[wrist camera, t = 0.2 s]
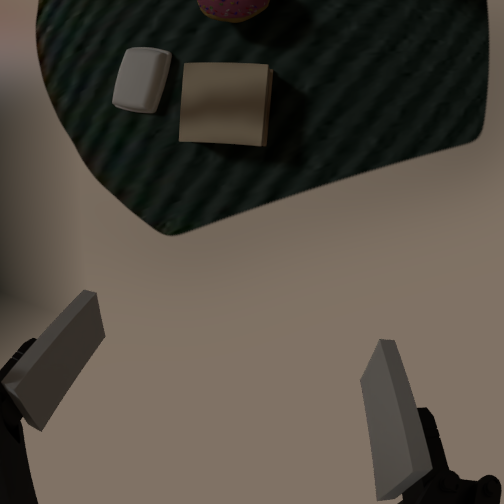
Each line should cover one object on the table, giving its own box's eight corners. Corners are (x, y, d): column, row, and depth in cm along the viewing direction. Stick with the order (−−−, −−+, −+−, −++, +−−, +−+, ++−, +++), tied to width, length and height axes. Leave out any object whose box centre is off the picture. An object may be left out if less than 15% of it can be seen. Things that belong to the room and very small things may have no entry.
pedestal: (194, 67, 33) (182, 60, 28) (273, 70, 32) (271, 62, 27) (189, 140, 36) (176, 143, 32) (266, 146, 36) (263, 149, 31)
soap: (157, 115, 36) (148, 116, 33) (114, 107, 36) (103, 107, 33) (176, 51, 32) (168, 47, 29) (131, 46, 32) (121, 42, 29)
